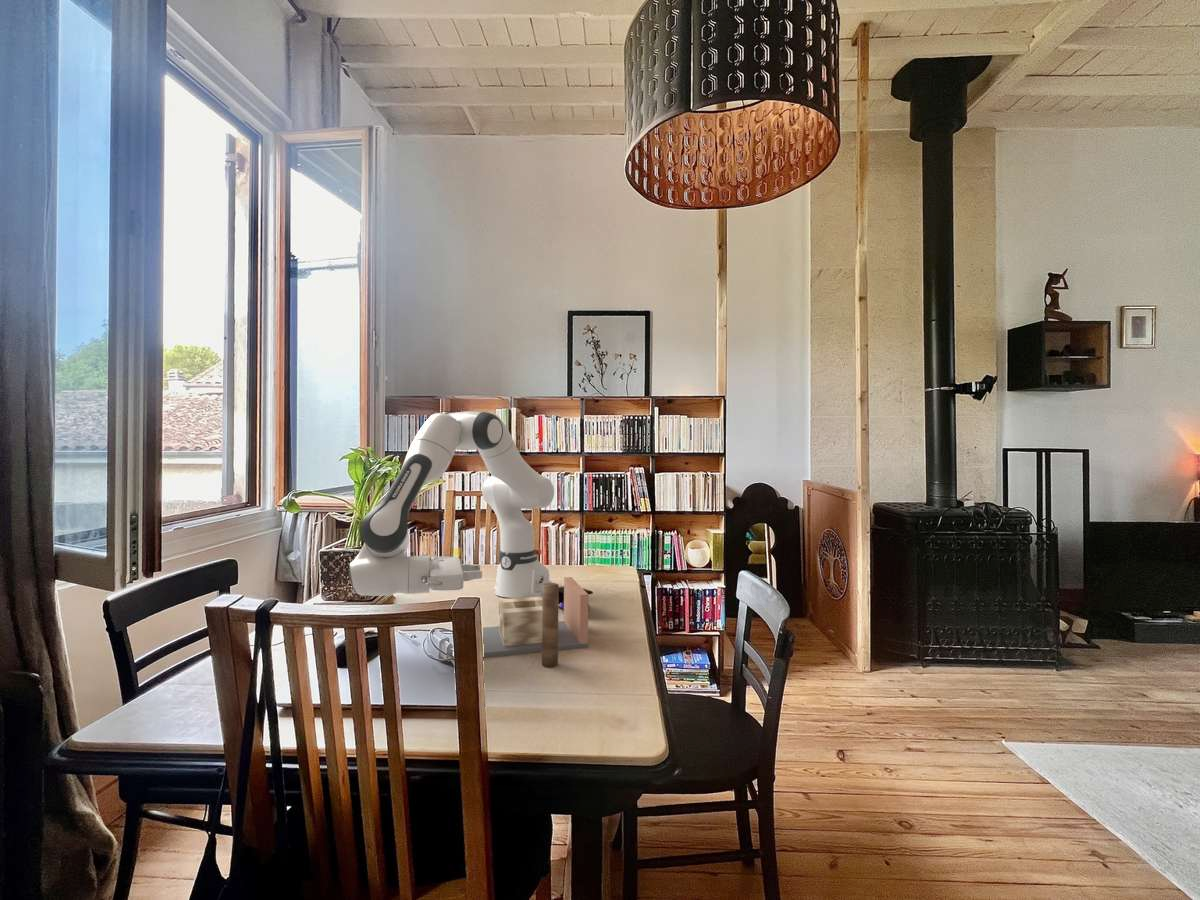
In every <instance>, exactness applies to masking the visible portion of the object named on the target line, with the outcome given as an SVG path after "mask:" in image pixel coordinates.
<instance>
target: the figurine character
mask: <svg viewBox="0 0 1200 900" xmlns="http://www.w3.org/2000/svg"><path fill="white" fill-rule="evenodd" d="M582 588H583V589H584V590H585V591H586V592H587V593H588V596H589V595H592V594H594V593H593V591H592V590H588V589H586V588H584V587H582ZM558 609H562V610H564V586H562V587H559V603H558ZM589 612H590V604H589V603H588V613H589Z"/></svg>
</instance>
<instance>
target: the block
mask: <svg viewBox="0 0 1200 900" xmlns="http://www.w3.org/2000/svg"><path fill="white" fill-rule="evenodd" d="M542 601H543V595H542V596H539V597H523V598H499V599H498V626H499V632H500V635H501V638H502V641H503V644H504V646H511V645H522V644H533V643H542Z"/></svg>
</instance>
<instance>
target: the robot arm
mask: <svg viewBox="0 0 1200 900" xmlns="http://www.w3.org/2000/svg"><path fill="white" fill-rule="evenodd" d="M456 450H460V451H469V450H470V451H472V450H477V451H478V453H479V455H480V457H481V459H482V462H483V463H484V465H485V467H486V469H487V471H488V473H490V475H489V476H488V477H487V478H486V479H485V480H484V482H483V483H482V487H481V494H482V497H483V500H484V501H485V502H486V503H487V504H488V505H489V506H490V508H491V509H492V510H493V512H494V514H495V516H496V519H497V522H498V525H499V536H500V537H499V541H500V543H499V544H500V549H499V551H498V562H499V564H498V565H497V570H496V578H495V579H496V580H495V585H493V590H494V594H495V595H496V596H499V597H502V598H507V599H511V598H525V597H540V596H543V584H546V583H556V582H555V581H552V580H550V571H549V569H548V568H547V567H546V566H545V565H544V564H543V563H541V561H539V560H538V556H541V555H542V552H543V551H542V549H541V548H535V528H534V527H535V526H534V524H533V523H532V522H531V521H529V519H527V518H526V517H525V515H524V514H523V512H522V509H525V510H526V509H527V510H536V509H543V508H548V507H549V506H550V505H551V504H552V502H553V500H554V496H555V488H554V484H553V483H552V481H551V480H550V478H547V477H545V476H543V475H542V474H540V473H538V472H537V471H536V470H535V469H534V468H532V467H531V466H530V465H529V463H527V461H526V460H524V458H523V457H522V455H521V453H520V452H519V449H518V448H517V445H516V444H515V440H514V439H513V437H512V435H511V432H510V431H509V429H508V428H507V425H505V422H504V421H503V420H502V419H501V417H500V416H499V415H498V414H496V413H492V412H486V411H482V412H480V411H470V410H469V411H467V410H466V411H460V412H459V411H458V412H457V411H456V412H436V413H434V414H432V415H430V416H429V417H428V419H426V421H425V422H424V423H423V424H422V425H421V428H420V429H419V430H418V431H417V433H416V434H415V437H414V439H413V440H412V442H411V444H410V446H409V448H408V450H407V453H406V455H405V457H404V461H403V462H402V463H403V464H402V466H401V469H400V470H399V473H398V474H397V475H396V477H395V479H394V481H393V483H392V485H391V486H390V488H389V489H388V492H387V493H386V495H385V496H384V498H383V499H382V500H381V501H380V502H379V503H378V504H377V505H376V506H374V507H373V508H372V509H371V510H370V511H368V513H367V514H366V515H365V516H364V517H363V519H362V521H361V523H360V527H359V529H360V530H359V532H360V536H361V539H362V541H363V542H364V543H363V545H362V547H361V549H360V550H359V552H358V553H357V555H356V556H355V558H354V559H353V560H352V561H351V562H350V563H349V566H348V576H349V582H350V585H351V588H352V590H353V591H354V592H355V593H356V594H358V595H360V596H370V597H371V596H372V597H374V596H375V597H380V596H383V597H385V596H392V595H395V594H404V595H405V594H406V595H413V594H429V593H430V590H431V591H461V590H463V588H464V582H469V581H473V580H479V579H482V578H483V571H482V570H481V566H480V564H472V563H471V564H470V563H461V562H462V561H461V559H460V558H459V557H457V556H443V555H442V556H441V555H438V556H433V555H432V556H431V554H429V553H428V554H426V553H425V554H422V555H413V556H411V555H410V556H409V555H406V554H407V550H408V548H409V544H410V543H409V542H410V539H409V538H410V537H409V533H408V531H409V528H408V527H409V521H408V520H409V513H410V511H411V508H412V507H413V505H414V503H415V502H416V500H417V497H418V495H419V493H420V492H421V490H422V488H423V487H424V486H425V485H426V484H431V483H434V482H437V481H439V480H440V479H441V478H442V476H443V475H444V474H445V472H446V471H447V469H448V468H449V466H450V464H451V462H452V459H453V457H454V455H455V452H456Z"/></svg>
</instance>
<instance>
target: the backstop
mask: <svg viewBox="0 0 1200 900" xmlns="http://www.w3.org/2000/svg"><path fill="white" fill-rule="evenodd" d="M563 579H564V580H563V582H564V583H563V587H564V609H563V620H558V651H560V650H561V651H563V650H572V649H581V648H582V649H583V648H589V612H588V604H589V595H588V593H587V592H586V591H585V590H584V589H585V588H584V587H582V586H581V585H580V584H579V583H578V582H577V581H576V580H575V579H574V578H573V577H572V576H566V577H564V578H563ZM583 588H584V589H583ZM482 628H483V644H484V657H483V658H488V657H487V656H491V657H501V656H509V655H510V656H511V655H519V654H520V655H521V654H522V655H523V654H531V653H532V654H533V653H539V652H540V653H542V643H533V644H522V645H511V646H504V644H503V641H502V638H501V635H500V632H499V625H498V626H485V627H482Z"/></svg>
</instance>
